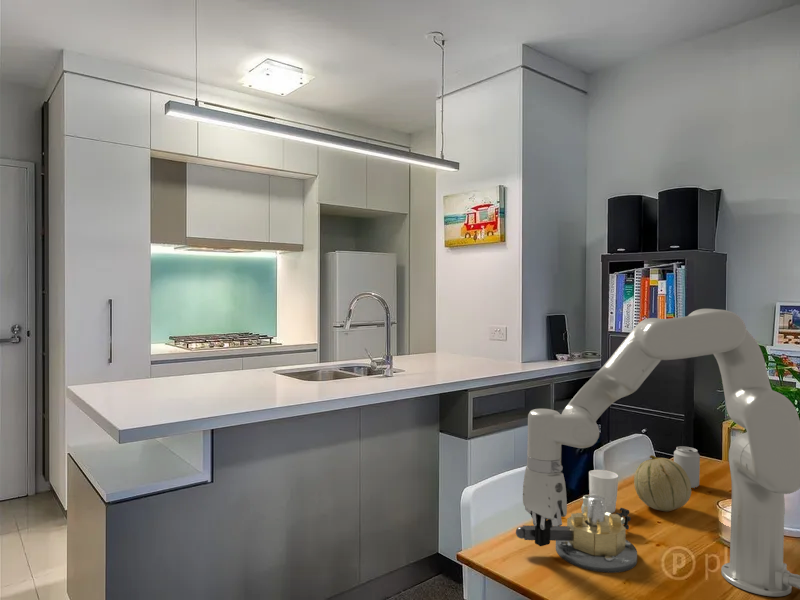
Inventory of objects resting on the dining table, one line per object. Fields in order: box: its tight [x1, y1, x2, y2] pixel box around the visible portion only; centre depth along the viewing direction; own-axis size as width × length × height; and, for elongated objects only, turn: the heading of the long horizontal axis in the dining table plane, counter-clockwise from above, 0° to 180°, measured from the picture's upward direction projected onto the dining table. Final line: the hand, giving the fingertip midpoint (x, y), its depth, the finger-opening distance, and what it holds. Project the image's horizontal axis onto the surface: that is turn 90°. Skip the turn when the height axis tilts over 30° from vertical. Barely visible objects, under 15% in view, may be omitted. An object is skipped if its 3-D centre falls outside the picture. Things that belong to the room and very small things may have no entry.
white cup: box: [588, 469, 619, 514], centre depth 156 cm, size 8×8×10 cm
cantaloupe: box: [633, 454, 692, 512], centre depth 157 cm, size 15×15×15 cm
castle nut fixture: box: [515, 506, 627, 556], centre depth 129 cm, size 25×12×7 cm, turn 90°
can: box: [673, 446, 701, 489], centre depth 177 cm, size 8×8×12 cm
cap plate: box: [555, 494, 638, 574], centre depth 129 cm, size 18×18×13 cm
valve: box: [580, 494, 632, 530], centre depth 145 cm, size 7×7×12 cm
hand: (542, 543), depth 126 cm, fingers closed
